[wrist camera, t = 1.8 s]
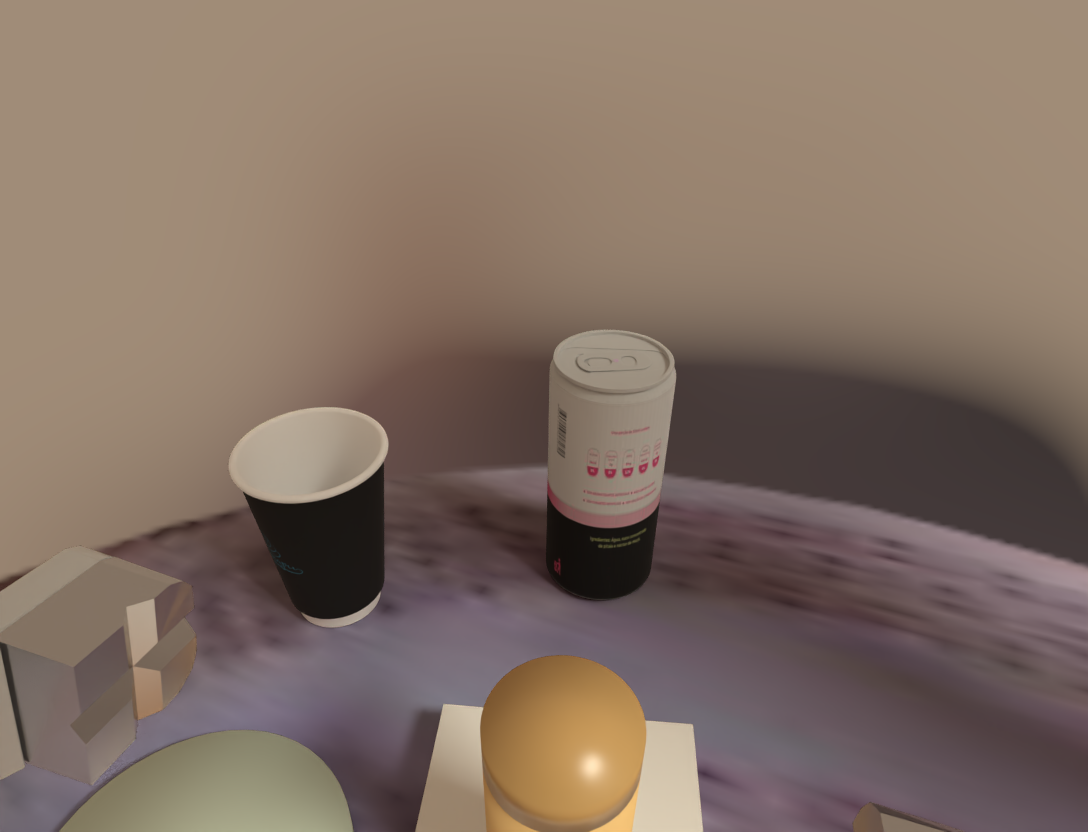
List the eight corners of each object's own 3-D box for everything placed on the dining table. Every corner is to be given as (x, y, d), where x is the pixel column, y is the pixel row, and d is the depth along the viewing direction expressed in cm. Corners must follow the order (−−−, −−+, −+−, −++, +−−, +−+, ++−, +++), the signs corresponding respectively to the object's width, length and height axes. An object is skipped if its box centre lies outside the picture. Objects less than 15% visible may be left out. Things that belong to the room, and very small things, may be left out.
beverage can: (541, 532, 48) (544, 330, 40) (638, 526, 49) (661, 326, 40) (552, 608, 43) (557, 394, 35) (660, 601, 44) (692, 388, 35)
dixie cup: (243, 633, 41) (193, 482, 35) (313, 538, 48) (281, 396, 41) (372, 664, 40) (343, 511, 33) (427, 561, 46) (411, 417, 40)
